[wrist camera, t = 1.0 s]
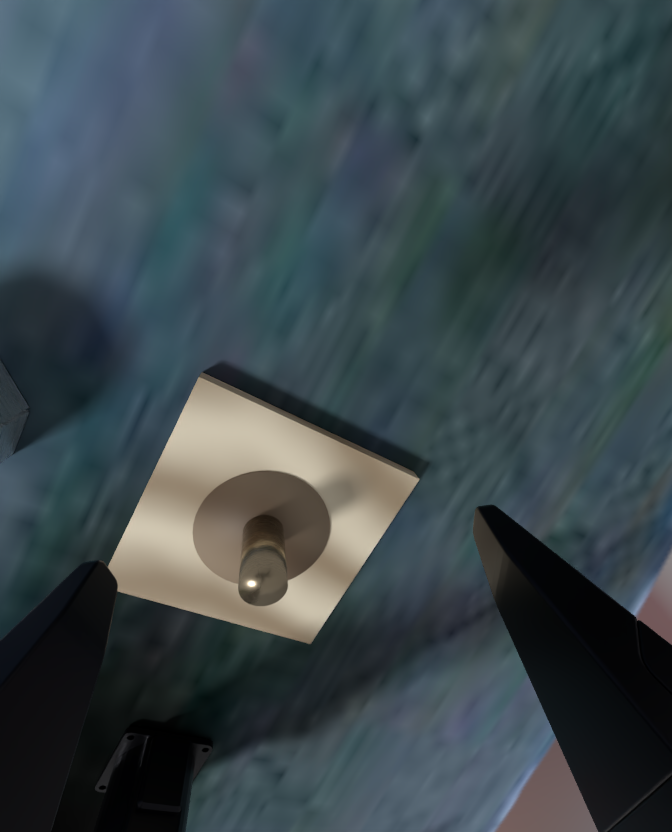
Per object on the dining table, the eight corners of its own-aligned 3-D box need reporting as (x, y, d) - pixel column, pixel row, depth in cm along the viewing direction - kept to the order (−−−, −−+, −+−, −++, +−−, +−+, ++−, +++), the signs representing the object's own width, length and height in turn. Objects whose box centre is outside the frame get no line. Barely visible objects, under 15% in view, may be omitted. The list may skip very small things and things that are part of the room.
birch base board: (308, 631, 28) (310, 645, 27) (105, 573, 24) (98, 587, 23) (413, 471, 25) (420, 480, 24) (201, 372, 21) (198, 377, 20)
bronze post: (272, 553, 24) (274, 611, 20) (235, 540, 23) (229, 598, 19) (290, 522, 24) (296, 575, 20) (253, 508, 23) (251, 560, 19)
